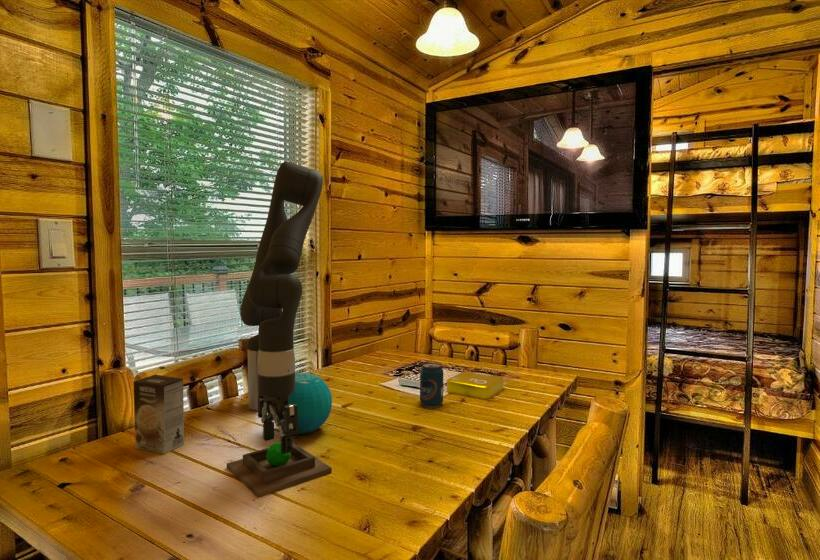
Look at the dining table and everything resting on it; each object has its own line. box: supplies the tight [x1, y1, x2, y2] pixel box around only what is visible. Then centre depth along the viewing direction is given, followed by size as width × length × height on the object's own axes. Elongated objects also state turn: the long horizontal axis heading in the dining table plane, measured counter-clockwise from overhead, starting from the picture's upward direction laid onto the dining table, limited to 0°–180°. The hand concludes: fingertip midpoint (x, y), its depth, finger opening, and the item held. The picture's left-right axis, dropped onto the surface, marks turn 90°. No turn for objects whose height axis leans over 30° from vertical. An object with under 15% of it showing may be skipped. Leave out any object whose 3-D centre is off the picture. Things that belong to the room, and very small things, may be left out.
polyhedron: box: [266, 441, 291, 467], centre depth 102 cm, size 5×5×5 cm
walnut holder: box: [226, 442, 333, 498], centre depth 102 cm, size 16×16×3 cm
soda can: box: [419, 362, 444, 408], centre depth 145 cm, size 7×7×12 cm
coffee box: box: [133, 374, 185, 455], centre depth 114 cm, size 9×6×16 cm
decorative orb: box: [281, 372, 333, 435], centre depth 123 cm, size 15×15×15 cm
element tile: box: [446, 370, 504, 400], centre depth 161 cm, size 15×15×5 cm
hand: (277, 446), depth 102 cm, fingers open, 8 cm apart
